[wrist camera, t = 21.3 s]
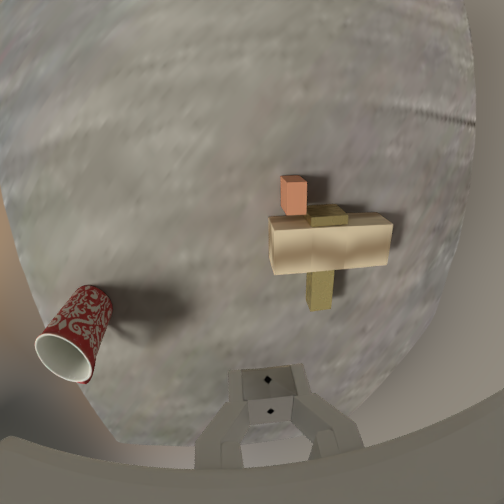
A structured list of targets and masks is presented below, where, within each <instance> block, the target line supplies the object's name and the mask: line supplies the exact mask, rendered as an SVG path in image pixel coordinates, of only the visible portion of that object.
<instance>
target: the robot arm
mask: <svg viewBox="0 0 504 504" xmlns="http://www.w3.org/2000/svg"><path fill="white" fill-rule="evenodd" d="M241 374H242V375H241ZM228 389H229V402H225V404H224V405H223V406H222V408H221V409H220V410H219V412H218V413H217V414H216V416H215V417H214V418H213V420H212V421H211V422H210V423H209V425H208V426H207V427H206V429H205V430H204V431H203V432H202V434H201V435H200V436H199V438H198V439H197V440H196V441H195V467H194V469H172V468H156V467H146V466H137V465H129V464H122V463H115V462H108V461H103V460H97V459H93V458H88V457H83V456H78V455H74V454H70V453H66V452H62V451H59V450H55V449H51V448H48V447H45V446H41V445H38V444H35V443H32V442H29V441H26V440H24V439H21V438H18V437H15V436H9V437H7V438H5V439H3V440H2V441H0V504H504V388H503V389H502V390H500V391H498V392H497V393H495V394H493V395H492V396H490V397H488V398H487V399H484V400H483V401H481V402H479V403H477V404H475V405H473V406H471V407H469V408H467V409H465V410H463V411H461V412H459V413H457V414H455V415H453V416H451V417H448V418H446V419H444V420H442V421H439V422H437V423H435V424H432V425H430V426H428V427H425V428H423V429H420V430H418V431H415V432H412V433H409V434H407V435H404V436H401V437H398V438H395V439H392V440H389V441H386V442H383V443H380V444H377V445H373V446H369V447H366V448H365V447H364V444H363V441H362V438H361V436H360V433H359V430H358V428H357V425H356V423H355V422H354V421H352V420H351V419H350V418H348V417H347V416H345V415H344V414H343V413H341V412H340V411H339V410H337V409H336V408H335V407H333V406H332V405H331V404H329V403H328V402H327V401H325V400H324V399H323V398H321V397H320V396H319V395H317V394H316V393H312V392H311V389H310V385H309V382H308V379H307V375H306V372H305V369H304V365H303V364H302V363H301V364H293V365H284V366H276V367H267V368H258V369H241V370H228ZM284 421H291V422H292V423H293V424H294V425H295V426H296V427H297V428H298V429H299V430H300V431H301V432H302V433H303V434H304V435H305V436H306V437H307V438H308V439H309V440H310V441H311V442H312V443H313V446H312V450H311V453H310V456H309V459H308V461H302V462H296V463H289V464H282V465H273V466H264V467H253V468H244V465H243V459H242V453H241V447H240V443H241V441H242V439H243V437H244V436H245V434H246V432H247V431H248V429H249V427H250V425H256V424H264V423H273V422H284Z"/></svg>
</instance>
